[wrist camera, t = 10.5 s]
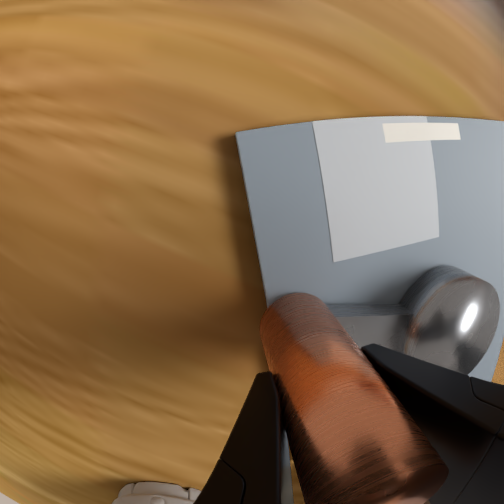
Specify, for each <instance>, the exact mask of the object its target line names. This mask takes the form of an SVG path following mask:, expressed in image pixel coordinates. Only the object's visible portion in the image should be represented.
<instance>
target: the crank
mask: <svg viewBox="0 0 504 504" xmlns="http://www.w3.org/2000/svg"><path fill="white" fill-rule="evenodd" d="M499 315H500V302H499V297H498V294H497V291H496V290H495V288H494V287H493V286H492V285H491V284H490V283H489V282H487V281H485V280H482V279H480V278H478V277H476V276H474V275H472V274H470V273H468V272H466V271H464V270H462V269H459V268H457V267H454V266H449V265H448V266H440V267H437V268H434V269H432V270H430V271H428V272H426V273H425V274H424V275H422V276H421V277H420V278H419V279H418V280H416V281H415V282H414V283H413V284H412V286H411V287H410V288H409V289H408V290H407V292H406V293H405V294H404V296H403V297H402V299H401V300H400V302H399V304H366V305H325V303H324V302H323V301H322V300H320V299H319V298H318V297H316V296H314V295H311V294H308V293H292V294H288V295H285V296H283V297H281V298H279V299H277V300H276V301H275V302H273V303H272V304H271V305H270V306H269V307H268V308H267V309H266V311H265V313H264V314H263V316H262V319H261V322H260V336H261V340H262V344H263V347H264V351H265V355H266V359H267V363H268V367H269V371H271V372H272V374H273V377H274V380H275V384H276V387H277V390H278V394H279V398H280V404H281V409H282V415H283V422H284V427H285V431H286V435H287V439H288V442H289V446H290V450H291V453H292V457H293V461H294V464H295V468H296V472H297V475H298V479H299V483H300V486H301V490H302V493H303V497H304V501H305V504H424V503H425V502H426V501H427V500H428V499H430V498H431V497H432V496H433V495H434V494H435V493H436V492H437V491H438V490H439V489H440V487H441V486H442V485H443V484H444V482H445V481H446V479H447V477H448V474H449V469H448V467H447V465H446V464H445V463H444V461H443V460H442V458H441V457H440V456H439V454H438V453H437V451H436V450H435V449H434V447H433V446H432V444H431V443H430V442H429V440H428V439H427V438H426V436H425V435H424V433H423V432H422V431H421V429H420V428H419V427H418V425H417V424H416V423H415V421H414V420H413V418H412V417H411V416H410V414H409V413H408V412H407V410H406V409H405V408H404V406H403V405H402V404H401V402H400V401H399V400H398V398H397V397H396V396H395V394H394V393H393V392H392V390H391V389H390V388H389V386H388V385H387V384H386V382H385V381H384V380H383V378H382V377H381V376H380V374H379V373H378V372H377V370H376V369H375V368H374V366H373V365H372V364H371V363H370V361H369V360H368V359H367V357H366V356H365V355H364V353H363V352H362V351H361V350H360V349H361V347H362V346H365V345H368V344H372V343H375V344H378V345H381V346H383V347H386V348H389V349H392V350H395V351H397V352H400V353H403V354H406V355H409V356H412V357H415V358H418V359H421V360H423V361H426V362H429V363H432V364H435V365H438V366H441V367H444V368H447V369H450V370H453V371H457V372H460V373H463V374H466V375H468V374H469V373H470V372H471V371H472V370H473V369H474V368H475V367H476V366H477V365H478V363H479V362H480V361H481V359H482V358H483V356H484V355H485V353H486V352H487V350H488V348H489V346H490V344H491V342H492V340H493V338H494V335H495V332H496V329H497V326H498V321H499Z"/></svg>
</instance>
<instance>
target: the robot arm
mask: <svg viewBox="0 0 504 504" xmlns="http://www.w3.org/2000/svg"><path fill="white" fill-rule="evenodd" d="M360 350H361V351H362V352H363V353H364V355H365V356H366V357H367V359H368V360H369V361H370V363H371V364H372V365H373V366H374V368H375V369H376V370H377V372H378V373H379V374H380V376H381V377H382V378H383V380H384V381H385V382H386V384H387V385H388V386H389V388H390V389H391V390H392V392H393V393H394V394H395V396H396V397H397V398H398V400H399V401H400V402H401V404H402V405H403V406H404V408H405V409H406V410H407V412H408V413H409V414H410V416H411V417H412V418H413V420H414V421H415V423H416V424H417V425H418V427H419V428H420V429H421V431H422V432H423V433H424V435H425V436H426V438H427V439H428V440H429V442H430V443H431V444H432V446H433V447H434V449H435V450H436V451H437V453H438V454H439V456H440V457H441V458H442V460H443V461H444V463H445V464H446V465H447V467H448V469H449V474H448V477H447V479H446V481H445V482H444V484H443V485H442V486H441V487H440V489H439V490H438V491H437V492H436V493H435V494H434V495H433V496H432V497H431V498H430V499H428V500H429V502H430V504H504V385H501V384H497V383H493V382H489V381H486V380H482V379H479V378H476V377H473V376H471V377H469V375H466V374H463V373H460V372H457V371H453V370H450V369H447V368H444V367H441V366H438V365H435V364H432V363H429V362H426V361H423V360H421V359H418V358H415V357H412V356H409V355H406V354H403V353H400V352H397V351H395V350H392V349H389V348H386V347H383V346H381V345H378V344H375V343H372V344H368V345H365V346H362V347H361V349H360ZM193 504H294V501H293V490H292V478H291V467H290V457H289V447H288V440H287V435H286V431H285V427H284V422H283V415H282V409H281V404H280V398H279V394H278V390H277V387H276V384H275V380H274V377H273V374H272V372H271V371H267V372H263V373H258V374H257V375H256V377H255V379H254V382H253V384H252V386H251V389H250V391H249V393H248V396H247V398H246V400H245V403H244V405H243V407H242V409H241V412H240V414H239V416H238V418H237V421H236V423H235V425H234V427H233V429H232V432H231V434H230V436H229V438H228V440H227V443H226V445H225V447H224V449H223V451H222V453H221V455H220V459H219V460H218V461H217V463H216V466H215V468H214V470H213V472H212V474H211V475H210V477H209V479H208V481H207V483H206V485H205V486H204V488H203V489H202V491H201V492H200V494H199V496H198V497H197V499H196V500H195V501H194V503H193Z"/></svg>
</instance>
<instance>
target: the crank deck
mask: <svg viewBox="0 0 504 504" xmlns="http://www.w3.org/2000/svg"><path fill="white" fill-rule="evenodd" d="M235 137H236V143H237V148H238V153H239V158H240V164H241V169H242V174H243V179H244V185H245V190H246V195H247V201H248V206H249V211H250V216H251V222H252V227H253V232H254V238H255V243H256V248H257V254H258V259H259V265H260V270H261V275H262V281H263V286H264V291H265V297H266V302H267V308H268V307H269V306H270V305H271V304H272V303H273V302H275V301H276V300H277V299H279V298H281V297H283V296H285V295H288V294H292V293H308V294H311V295H314V296H316V297H318V298H319V299H320V300H322V301H323V302H324V303H325V305H366V304H399V302H400V300H401V299H402V297H403V296H404V294H405V293H406V292H407V290H408V289H409V288H410V287H411V286H412V284H413V283H414V282H415V281H416V280H418V279H419V278H420V277H421V276H422V275H424V274H425V273H426V272H428V271H430V270H432V269H434V268H437V267H440V266H448V265H449V266H454V267H457V268H459V269H462V270H464V271H466V272H468V273H470V274H472V275H474V276H476V277H478V278H480V279H482V280H485V281H487V282H489V283H490V284H491V285H492V286H493V287H494V288H495V290H496V291H497V294H498V297H499V302H500V315H499V321H498V326H497V329H496V332H495V335H494V338H493V340H492V342H491V344H490V346H489V348H488V350H487V352H486V353H485V355H484V356H483V358H482V359H481V361H480V362H479V363H478V365H477V366H476V367H475V368H474V369H473V370H472V371H471V372H470V373H469V374H468V375H469V377H471V376H473V377H476V378H479V379H482V380H486V381H489V382H491V380H492V377H493V374H494V371H495V367H496V364H497V361H498V357H499V353H500V349H501V346H502V342H503V337H504V121H495V120H484V119H472V118H456V117H427V116H382V117H359V118H344V119H331V120H320V121H312V122H304V123H295V124H287V125H280V126H273V127H266V128H259V129H253V130H247V131H241V132H236V134H235Z"/></svg>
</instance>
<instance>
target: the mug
mask: <svg viewBox="0 0 504 504" xmlns="http://www.w3.org/2000/svg"><path fill="white" fill-rule="evenodd" d="M200 492H201V491H200V490H197V489H194V488H189V489H188V490H186V489H184V488H182V487H181V486H179V485H176V484H170V483H160V482H138V483H137V484H134V483H131V484H127V485H125V486H124V487H123V488H122V489H121V490H120V492H119V496H118V498H117V499H115V500H114V501H113V502H112V504H193V503H194V501H195V500H196V499H197V497H198V496H199V494H200Z"/></svg>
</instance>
